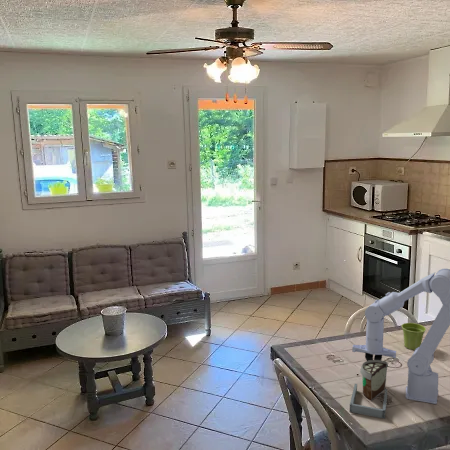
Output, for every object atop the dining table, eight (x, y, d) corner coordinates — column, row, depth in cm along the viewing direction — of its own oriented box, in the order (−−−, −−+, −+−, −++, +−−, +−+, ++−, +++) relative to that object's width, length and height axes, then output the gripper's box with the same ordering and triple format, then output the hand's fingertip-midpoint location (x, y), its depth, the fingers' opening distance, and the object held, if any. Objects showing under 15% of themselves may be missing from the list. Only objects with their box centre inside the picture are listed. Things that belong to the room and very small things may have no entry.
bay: (387, 396, 155) (387, 389, 154) (384, 418, 142) (385, 411, 142) (354, 390, 159) (354, 383, 158) (349, 411, 146) (349, 404, 146)
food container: (370, 382, 164) (371, 355, 162) (386, 388, 160) (388, 361, 158) (352, 395, 155) (353, 368, 154) (369, 402, 151) (370, 374, 149)
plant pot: (426, 345, 193) (427, 325, 191) (422, 354, 185) (423, 333, 183) (403, 340, 198) (404, 321, 196) (398, 348, 190) (399, 328, 188)
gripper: (397, 335, 162) (395, 371, 164) (354, 329, 167) (353, 364, 170) (396, 343, 155) (394, 380, 158) (352, 337, 161) (350, 373, 163)
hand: (372, 373), depth 163 cm, fingers closed
